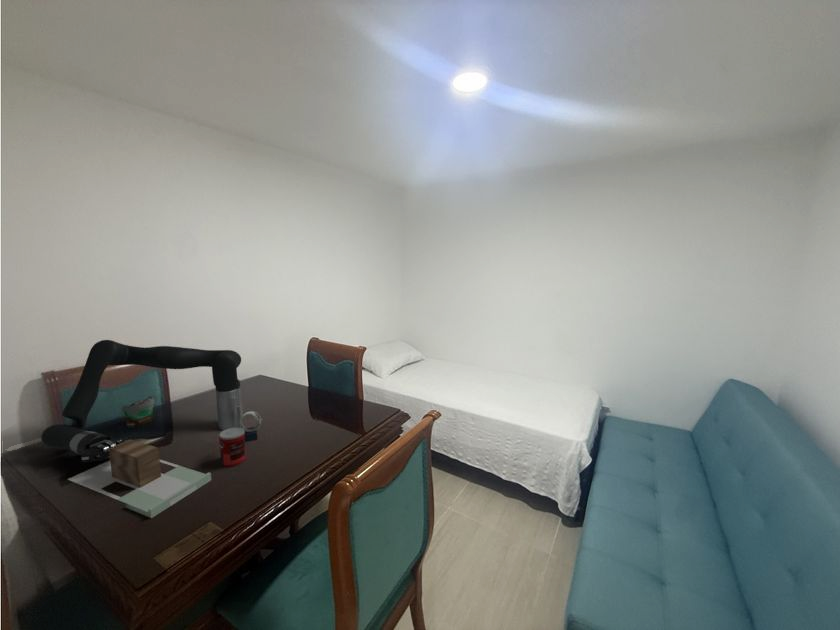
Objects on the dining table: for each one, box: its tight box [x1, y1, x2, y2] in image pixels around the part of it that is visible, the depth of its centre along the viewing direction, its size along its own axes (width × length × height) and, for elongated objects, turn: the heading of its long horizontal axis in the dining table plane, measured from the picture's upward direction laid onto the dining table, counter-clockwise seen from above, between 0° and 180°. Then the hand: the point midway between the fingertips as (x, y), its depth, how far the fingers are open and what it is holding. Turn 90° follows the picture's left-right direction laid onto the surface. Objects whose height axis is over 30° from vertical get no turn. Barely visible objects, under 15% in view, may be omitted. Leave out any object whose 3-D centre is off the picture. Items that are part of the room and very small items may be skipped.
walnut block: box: [109, 439, 162, 488], centre depth 107 cm, size 14×6×10 cm, turn 70°
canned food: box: [218, 427, 247, 467], centre depth 119 cm, size 8×8×11 cm
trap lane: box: [67, 459, 212, 519], centre depth 107 cm, size 40×18×2 cm, turn 70°
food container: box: [121, 395, 155, 427], centre depth 146 cm, size 12×6×10 cm, turn 168°
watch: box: [240, 410, 262, 443], centre depth 135 cm, size 6×8×11 cm
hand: (121, 454), depth 109 cm, fingers closed
